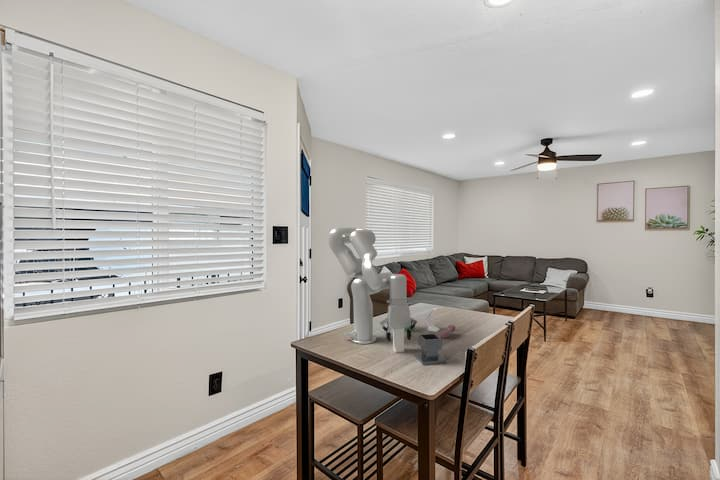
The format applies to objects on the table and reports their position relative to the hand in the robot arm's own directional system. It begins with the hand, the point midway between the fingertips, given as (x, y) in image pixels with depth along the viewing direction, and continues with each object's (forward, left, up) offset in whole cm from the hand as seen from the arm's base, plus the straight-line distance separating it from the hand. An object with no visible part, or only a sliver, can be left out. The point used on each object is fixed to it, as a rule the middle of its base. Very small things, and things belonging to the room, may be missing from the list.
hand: (398, 339), depth 141 cm
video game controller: (+30, +14, -5) cm, 34 cm away
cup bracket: (+10, -12, -5) cm, 16 cm away
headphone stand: (+27, +25, -5) cm, 37 cm away
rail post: (0, 0, -5) cm, 5 cm away
